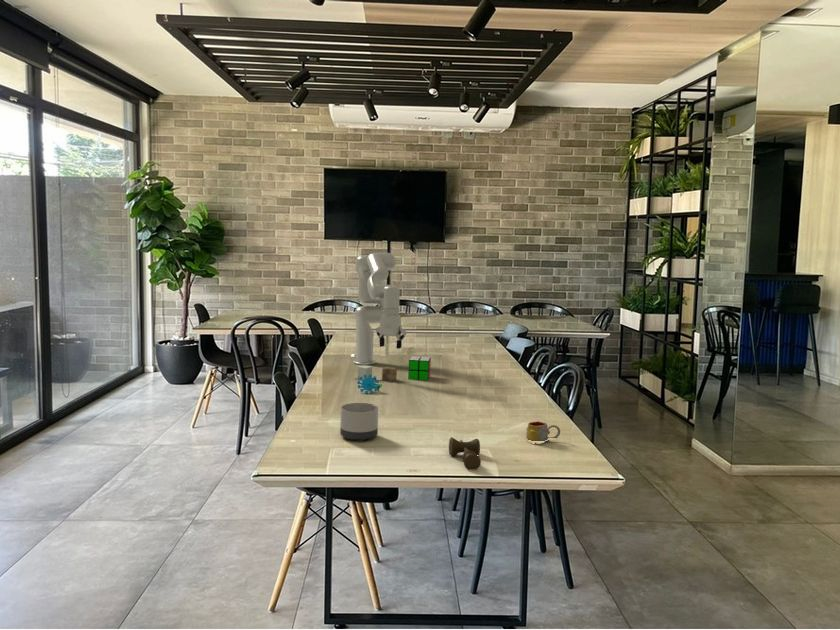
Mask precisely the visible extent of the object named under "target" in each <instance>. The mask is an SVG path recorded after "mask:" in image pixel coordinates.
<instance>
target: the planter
mask: <svg viewBox="0 0 840 630" xmlns="http://www.w3.org/2000/svg"><path fill="white" fill-rule="evenodd" d="M339 423H340V428H339V429H340V430H339V433H340V436H342V437H343V438H346V439H348V440H350V439H351V441H356V440H362V441H366V440H367V439H368V440H370V439H373V438H375V437H377V436H378V434H379V406H378V405H376V404H373V403H368V402H350V403H345V404H343V405H341V406H340V422H339ZM368 440H367V441H368Z"/></svg>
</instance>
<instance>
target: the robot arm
mask: <svg viewBox="0 0 840 630" xmlns="http://www.w3.org/2000/svg"><path fill="white" fill-rule="evenodd" d="M395 267H396V258H395V255H394V253H393V254H392V253H391V252H372V253H369V254H368V255H367V254H365V255H364V254H363V255H359V256H357V257H356V260H355V269H356V272H357V277H358V287H357V288H358V292H357V295H358V301H359V303H361V304H372V305H361V306H358V307H357V308H356V309H355V312H354V317H355V326H356V329H355V330H356V335H355V337H356V338H355V339H356V341H355V342H356V343H355V353H351V355H350V358H352V359H353V360H352V363H353V364H355V365H359V366H363V365H365V366H370V365H375V364H376V363H377V360H375V359H374V337H375V336H374V335H375V334H374V330H375V332H376V335H377V337H378V339H379V347H380V348H381V347H385V343H386V341H385V340H386V338H385V336H389V337H395V338H396V339H397V340H396V349H398V350H399V349H402V341H403V340H404V338H405V337H406V335H407V334H408V333H407V331H406V329H404V328H402V319H401V315H400V292H401V290H400V287H398V286H396V285H395V284H379V283H381V282H385V280H386V279H388V277H389V274H390V273H389V271H391V270H393V269H394V268H395ZM373 304H377V305H373ZM370 324H379V326H378V327H376V328H375V329H373V328H372V326H371V325H370Z"/></svg>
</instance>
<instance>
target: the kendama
mask: <svg viewBox="0 0 840 630" xmlns="http://www.w3.org/2000/svg"><path fill="white" fill-rule="evenodd" d="M480 451H481V443H480V440H479V439H478V438H475V439H472V440H470V441H463V440H462V439H460V440H457V438H454V437H452V436H451V437H450V438H449V440H448V453H449V456H450V455H451V456H452V457H454V456H456V455H458V454H460V453H463V454H462V461H463V466H464V467H465V469H467V470H468V469H476V468H478V469H479V468H480V466H481V463H482V461H481V457H480V456H477V455H480V453H481V452H480ZM451 456H450V457H451ZM476 470H477V469H476Z"/></svg>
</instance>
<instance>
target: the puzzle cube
mask: <svg viewBox="0 0 840 630" xmlns="http://www.w3.org/2000/svg"><path fill="white" fill-rule="evenodd" d="M431 359H432V358H431V357H429V356H410V358H409V360H408V377H407V378H408V380H419V381H429V380H430V377H431V364H432V363H431V361H432V360H431Z"/></svg>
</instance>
